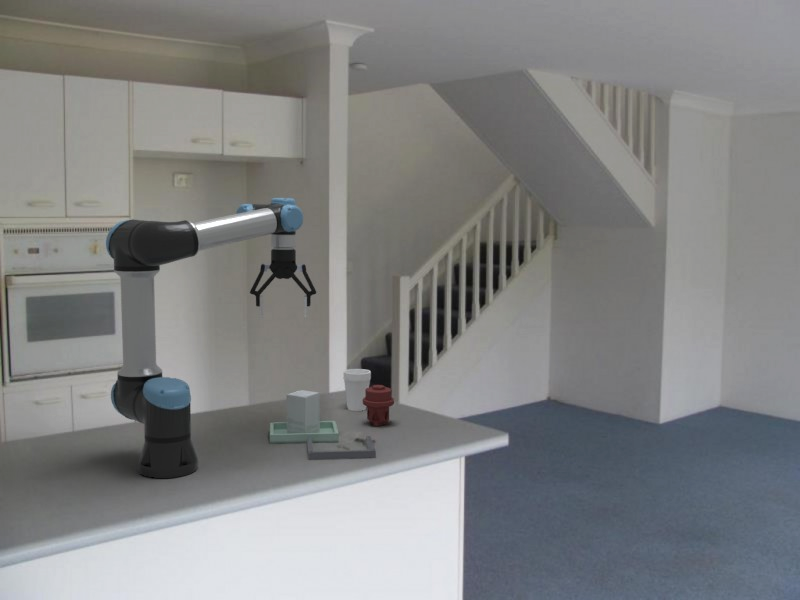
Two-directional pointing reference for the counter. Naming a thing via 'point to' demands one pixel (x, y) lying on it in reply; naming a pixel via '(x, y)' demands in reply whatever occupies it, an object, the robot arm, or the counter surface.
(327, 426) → the tray
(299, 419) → the supplement box
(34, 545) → the counter surface
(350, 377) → the foam cup
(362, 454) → the dock
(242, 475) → the counter surface
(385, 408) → the mechanical component
